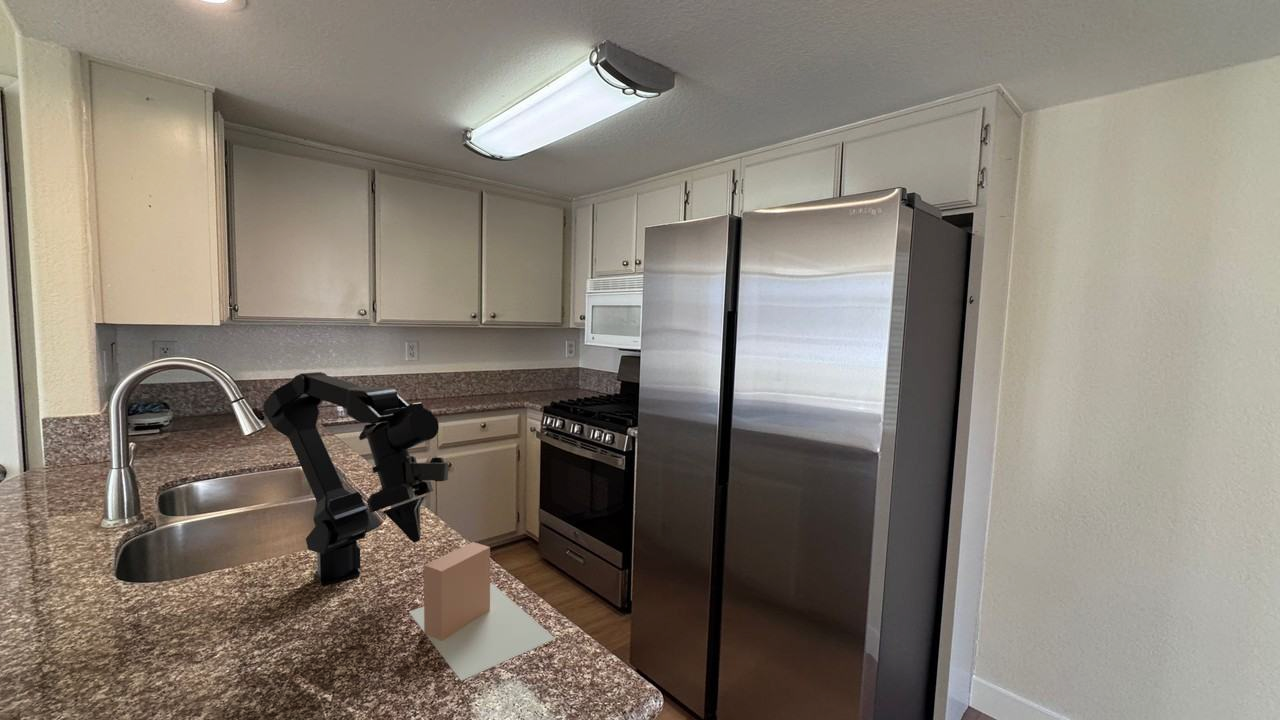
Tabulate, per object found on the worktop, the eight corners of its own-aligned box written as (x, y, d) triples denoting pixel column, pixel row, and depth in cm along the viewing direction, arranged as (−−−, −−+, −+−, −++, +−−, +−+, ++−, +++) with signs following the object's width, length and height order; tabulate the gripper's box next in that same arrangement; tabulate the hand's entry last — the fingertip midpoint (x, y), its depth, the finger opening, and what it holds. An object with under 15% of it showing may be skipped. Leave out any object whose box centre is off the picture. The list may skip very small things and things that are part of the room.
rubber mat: (461, 684, 71) (461, 680, 71) (408, 614, 87) (408, 611, 87) (555, 641, 81) (555, 638, 80) (492, 586, 97) (492, 583, 97)
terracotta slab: (424, 633, 81) (423, 565, 80) (473, 603, 90) (472, 541, 89) (442, 641, 79) (441, 571, 78) (490, 610, 88) (490, 547, 87)
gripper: (425, 439, 85) (454, 532, 83) (447, 441, 103) (470, 517, 101) (354, 463, 82) (382, 559, 81) (389, 461, 100) (412, 539, 99)
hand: (417, 541), depth 90 cm, fingers closed
